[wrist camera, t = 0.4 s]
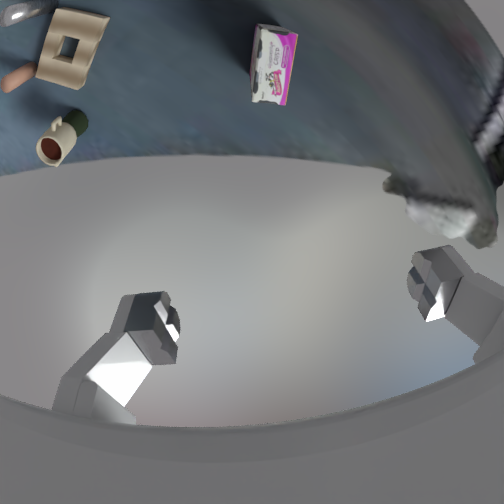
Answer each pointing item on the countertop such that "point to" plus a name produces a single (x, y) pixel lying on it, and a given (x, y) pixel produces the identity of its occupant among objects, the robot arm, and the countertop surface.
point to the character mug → (61, 137)
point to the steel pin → (26, 11)
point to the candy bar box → (271, 63)
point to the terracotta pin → (18, 77)
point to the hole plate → (76, 68)
